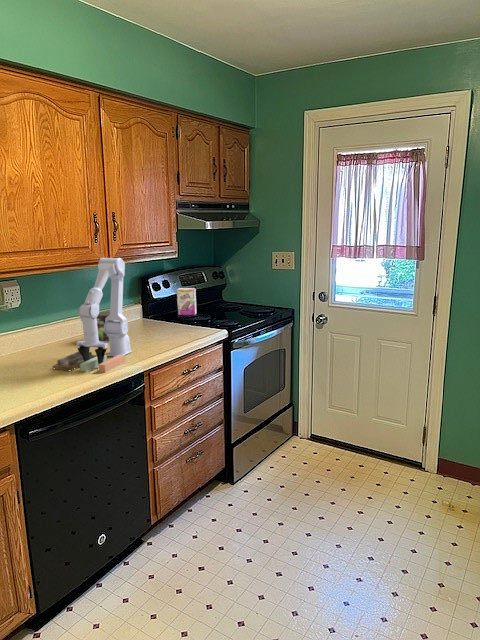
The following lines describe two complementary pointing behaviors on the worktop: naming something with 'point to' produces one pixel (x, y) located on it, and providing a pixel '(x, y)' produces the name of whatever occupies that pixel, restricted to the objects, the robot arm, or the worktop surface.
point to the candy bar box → (186, 301)
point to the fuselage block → (91, 364)
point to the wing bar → (111, 363)
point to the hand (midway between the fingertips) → (93, 363)
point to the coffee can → (102, 326)
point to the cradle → (71, 361)
